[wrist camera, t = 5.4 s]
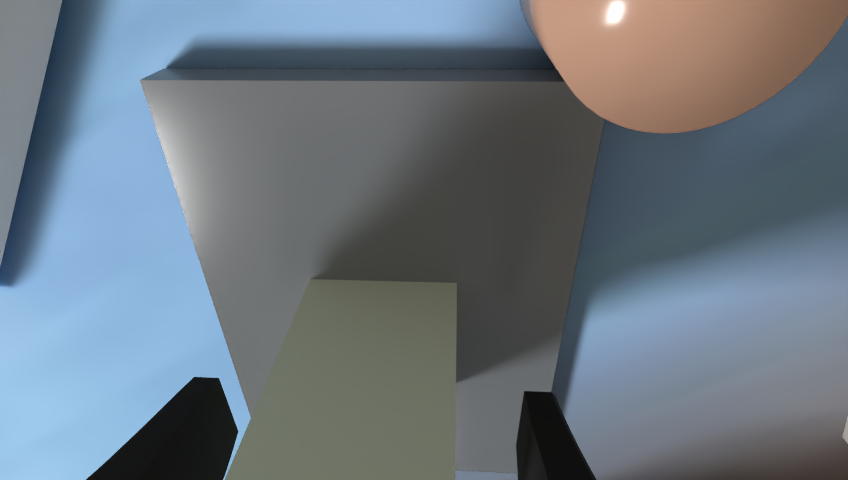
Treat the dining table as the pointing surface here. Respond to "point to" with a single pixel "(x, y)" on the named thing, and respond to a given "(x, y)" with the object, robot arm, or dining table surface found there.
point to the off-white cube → (846, 432)
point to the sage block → (359, 387)
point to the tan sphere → (680, 54)
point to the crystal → (20, 89)
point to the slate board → (389, 210)
